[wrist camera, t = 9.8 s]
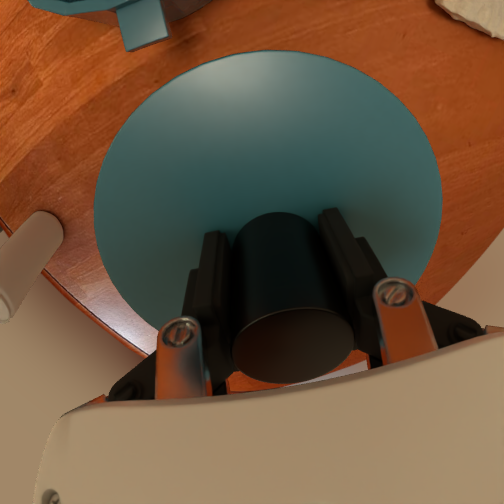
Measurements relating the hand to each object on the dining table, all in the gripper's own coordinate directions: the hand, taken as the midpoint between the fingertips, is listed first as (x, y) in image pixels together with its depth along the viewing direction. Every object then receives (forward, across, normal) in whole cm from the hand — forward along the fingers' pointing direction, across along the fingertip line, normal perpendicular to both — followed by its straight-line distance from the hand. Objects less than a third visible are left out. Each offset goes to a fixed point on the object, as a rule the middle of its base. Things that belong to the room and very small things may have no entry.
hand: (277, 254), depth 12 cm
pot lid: (+1, 0, 0) cm, 1 cm away
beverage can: (+15, +23, +2) cm, 28 cm away
